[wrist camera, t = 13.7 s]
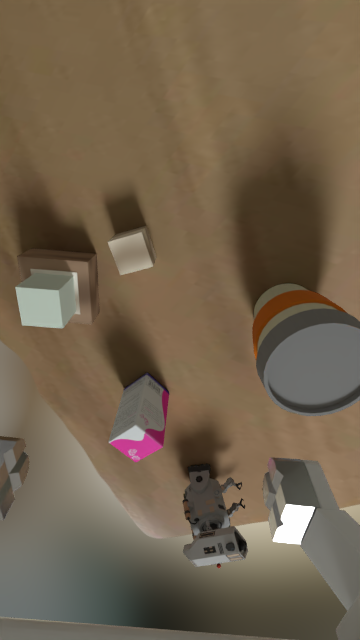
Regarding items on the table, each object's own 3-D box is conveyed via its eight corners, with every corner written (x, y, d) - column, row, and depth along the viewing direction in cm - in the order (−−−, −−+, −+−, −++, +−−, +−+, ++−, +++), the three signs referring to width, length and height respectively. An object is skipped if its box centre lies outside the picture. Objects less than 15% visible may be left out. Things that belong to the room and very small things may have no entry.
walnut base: (31, 248, 43) (16, 256, 40) (96, 253, 43) (87, 262, 40) (40, 307, 47) (27, 319, 44) (99, 312, 47) (91, 324, 44)
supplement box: (122, 389, 54) (106, 442, 44) (147, 371, 52) (136, 422, 42) (145, 409, 56) (135, 464, 46) (170, 392, 54) (165, 446, 44)
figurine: (244, 488, 65) (257, 573, 52) (189, 494, 66) (189, 578, 53) (237, 458, 61) (250, 542, 48) (180, 465, 62) (177, 548, 49)
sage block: (34, 273, 40) (15, 287, 36) (73, 276, 40) (58, 290, 36) (39, 307, 43) (22, 325, 38) (76, 310, 43) (62, 328, 38)
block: (115, 234, 42) (107, 242, 38) (146, 225, 41) (141, 232, 37) (126, 265, 44) (120, 275, 40) (156, 256, 43) (153, 266, 39)
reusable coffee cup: (225, 300, 46) (239, 357, 32) (307, 253, 42) (359, 297, 29) (264, 360, 50) (291, 432, 37) (341, 323, 47) (400, 388, 33)
